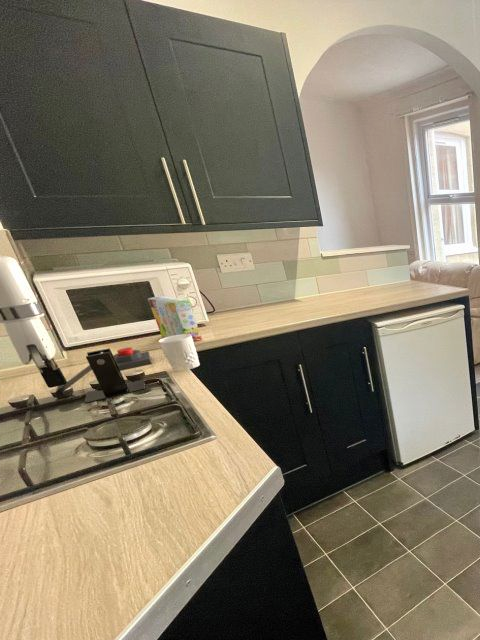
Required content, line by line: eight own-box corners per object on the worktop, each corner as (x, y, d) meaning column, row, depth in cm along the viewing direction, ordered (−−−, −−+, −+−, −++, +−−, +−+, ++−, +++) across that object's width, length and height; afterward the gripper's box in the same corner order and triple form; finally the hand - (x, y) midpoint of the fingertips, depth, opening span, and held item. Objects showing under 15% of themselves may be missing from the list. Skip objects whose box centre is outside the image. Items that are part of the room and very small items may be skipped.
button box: (110, 374, 126) (104, 361, 124) (111, 365, 133) (105, 354, 131) (152, 365, 132) (147, 353, 130) (150, 357, 139) (146, 346, 137)
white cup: (187, 375, 122) (174, 342, 118) (164, 374, 123) (151, 342, 119) (209, 365, 129) (197, 334, 125) (187, 364, 131) (175, 333, 126)
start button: (119, 357, 128) (116, 352, 128) (119, 354, 131) (117, 349, 130) (134, 354, 130) (132, 349, 130) (134, 352, 133) (131, 346, 132)
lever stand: (86, 407, 105) (63, 363, 100) (88, 396, 111) (67, 354, 106) (147, 392, 112) (128, 350, 107) (146, 382, 118) (128, 343, 113)
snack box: (204, 339, 156) (189, 299, 149) (187, 343, 151) (171, 302, 145) (177, 332, 166) (162, 294, 160) (160, 336, 161) (144, 298, 155)
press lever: (62, 398, 103) (51, 392, 101) (64, 391, 107) (54, 385, 105) (110, 361, 106) (100, 354, 105) (111, 355, 111) (101, 349, 109)
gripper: (1, 310, 99) (41, 381, 107) (-14, 321, 89) (31, 399, 96) (46, 304, 103) (81, 373, 111) (36, 314, 93) (76, 389, 100)
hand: (58, 385), depth 103 cm, fingers closed
